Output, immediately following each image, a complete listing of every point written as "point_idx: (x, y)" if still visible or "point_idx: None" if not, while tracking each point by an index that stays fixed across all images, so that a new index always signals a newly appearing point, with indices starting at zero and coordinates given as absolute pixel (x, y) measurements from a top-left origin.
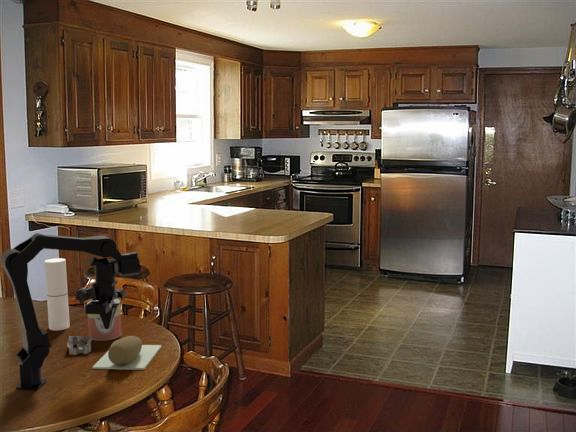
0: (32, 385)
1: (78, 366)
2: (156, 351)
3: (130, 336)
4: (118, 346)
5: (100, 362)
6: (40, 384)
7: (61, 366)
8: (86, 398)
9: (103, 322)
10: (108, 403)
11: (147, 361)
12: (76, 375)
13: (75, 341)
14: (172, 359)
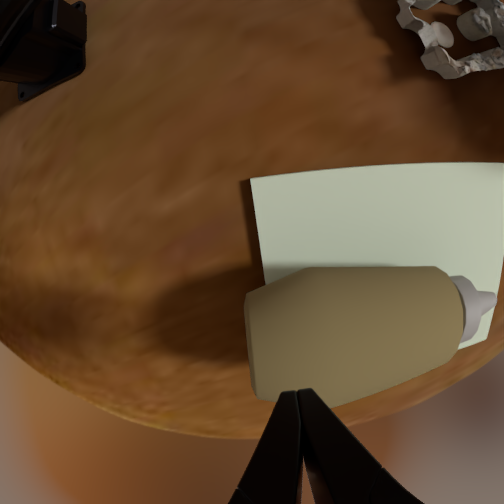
0: (17, 82)
1: (268, 91)
2: None
3: (437, 355)
4: (255, 384)
5: (316, 190)
6: (41, 86)
7: (252, 19)
8: (28, 297)
9: (253, 459)
10: (39, 360)
11: None
12: (160, 145)
13: (486, 5)
14: (376, 412)
